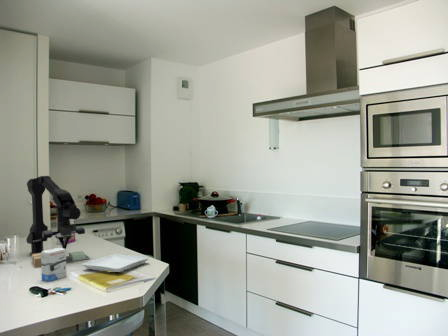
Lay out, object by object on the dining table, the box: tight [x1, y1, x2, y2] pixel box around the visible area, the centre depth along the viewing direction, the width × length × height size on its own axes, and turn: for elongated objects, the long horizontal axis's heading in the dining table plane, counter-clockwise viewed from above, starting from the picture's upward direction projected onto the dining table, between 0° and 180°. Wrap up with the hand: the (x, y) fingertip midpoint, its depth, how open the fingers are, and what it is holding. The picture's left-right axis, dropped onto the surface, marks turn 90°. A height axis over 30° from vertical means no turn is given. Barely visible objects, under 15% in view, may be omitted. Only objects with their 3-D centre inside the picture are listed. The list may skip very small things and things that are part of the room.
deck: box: [31, 253, 41, 268], centre depth 182 cm, size 12×13×4 cm
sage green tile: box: [68, 249, 86, 260], centre depth 189 cm, size 9×6×2 cm, turn 34°
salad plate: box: [82, 253, 149, 273], centre depth 172 cm, size 21×21×3 cm
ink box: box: [40, 247, 68, 283], centre depth 157 cm, size 8×5×12 cm, turn 148°
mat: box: [66, 253, 91, 264], centre depth 189 cm, size 13×12×1 cm
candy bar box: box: [56, 216, 76, 246], centre depth 228 cm, size 11×5×16 cm, turn 168°
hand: (64, 249), depth 186 cm, fingers closed
